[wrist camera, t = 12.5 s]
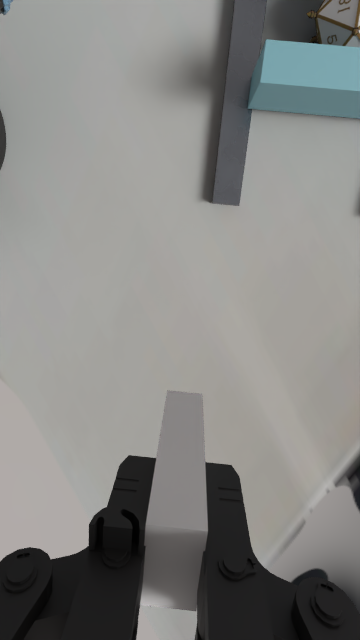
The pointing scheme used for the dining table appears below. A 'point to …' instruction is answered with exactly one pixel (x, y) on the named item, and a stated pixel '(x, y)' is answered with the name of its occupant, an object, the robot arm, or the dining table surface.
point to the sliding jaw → (307, 79)
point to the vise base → (237, 100)
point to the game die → (337, 23)
